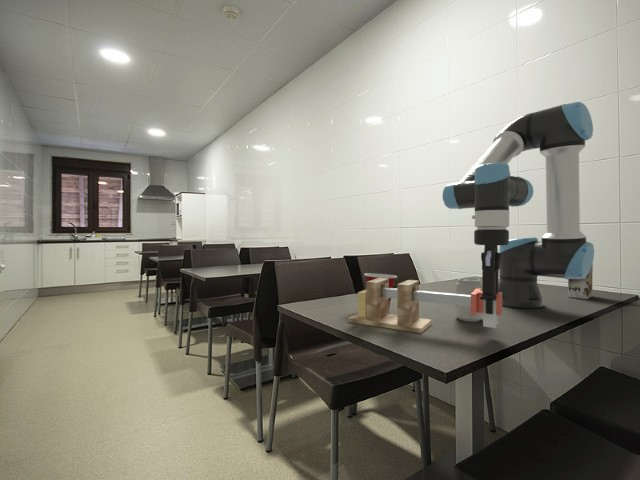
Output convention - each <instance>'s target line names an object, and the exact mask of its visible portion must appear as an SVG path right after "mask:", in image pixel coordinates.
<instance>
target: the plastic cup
mask: <svg viewBox="0 0 640 480" xmlns="http://www.w3.org/2000/svg"><path fill="white" fill-rule="evenodd" d="M364 278H365V280H366V281H365V283H366V282H367V281H371V280H374V279H377V278H389V288H394V285H395V282H396V279H397V278H398V276H397V275H394V274H386V273H385V274H384V273H375V272H373V273H372V272H369V273H367V272H366V273H364ZM391 301H392V298H389V309H390V308H391V307H390V306H391Z"/></svg>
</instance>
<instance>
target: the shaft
mask: <svg viewBox="0 0 640 480" xmlns="http://www.w3.org/2000/svg"><path fill="white" fill-rule="evenodd" d="M381 297H385V298H391V299H397V287H396V288H395V287H393V288H385V287H381ZM480 297H482V289H478V288H476V289H475V290H474V291H473V292H472V293H471V295H464V294H456V293H452V292H451V293H450V292H442V291H441V292H440V291H428V290H420V289H419V290H412V300H414V301H419V302H423V303H424V302H425V303H433V304H434V303H435V304H441V305H442V304H443V305H453V306H456V305H461V306H471V315H477V314H478V313H483V300H482V299H480ZM495 297H496V299H495V300H496V315H498V316H502V315H503V305H502V292H495Z"/></svg>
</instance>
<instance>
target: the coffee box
mask: <svg viewBox="0 0 640 480" xmlns="http://www.w3.org/2000/svg"><path fill="white" fill-rule="evenodd" d="M593 263H594V262H593ZM593 263H592V267H591V269H590V271H589V273H588V275H587V276H586V277H584V278H583V279H567V283H568V284H567V286H568V287H567V297H568V298H575V299H583V300H588V299H590V298H592V297H593V272H594V269H593V268H594V266H593Z"/></svg>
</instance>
